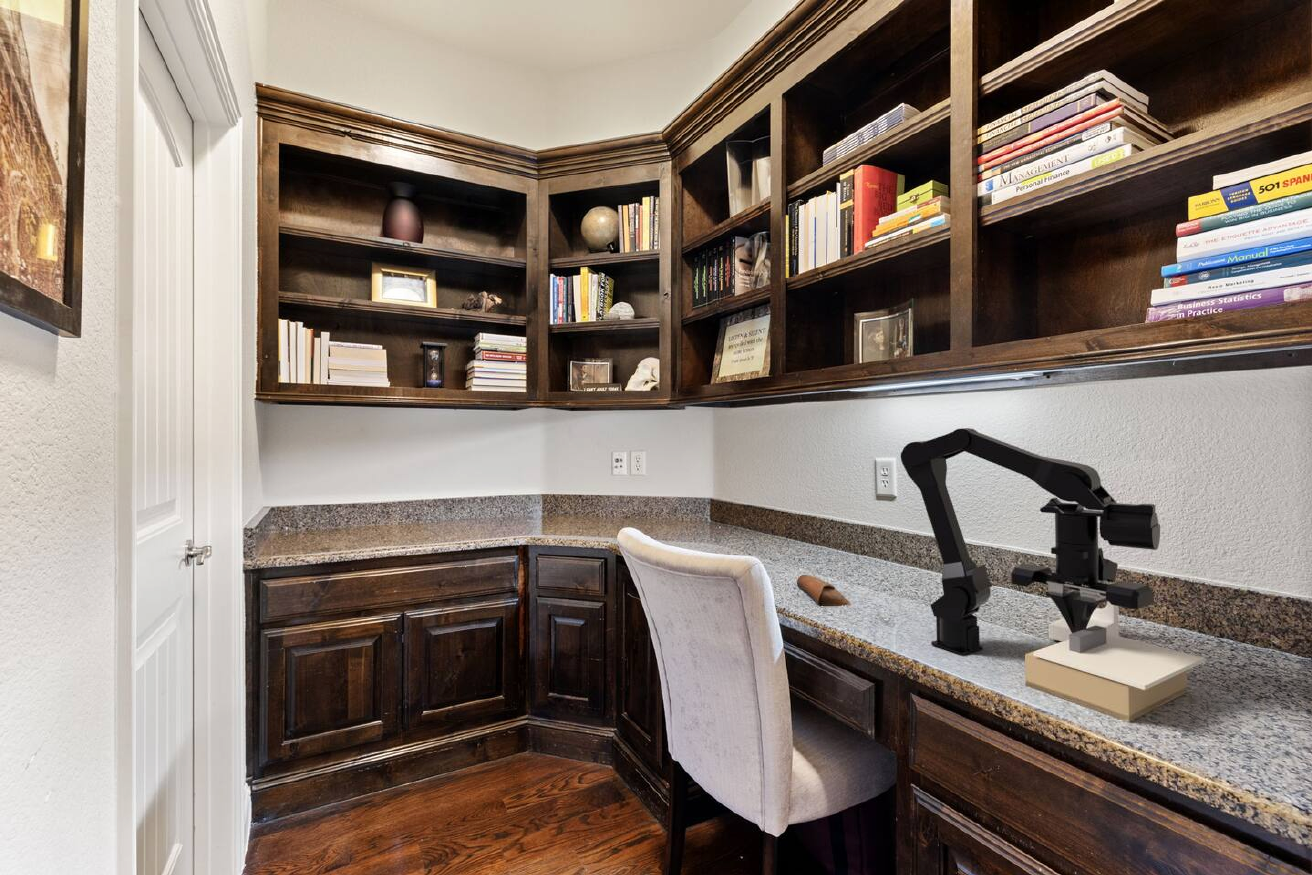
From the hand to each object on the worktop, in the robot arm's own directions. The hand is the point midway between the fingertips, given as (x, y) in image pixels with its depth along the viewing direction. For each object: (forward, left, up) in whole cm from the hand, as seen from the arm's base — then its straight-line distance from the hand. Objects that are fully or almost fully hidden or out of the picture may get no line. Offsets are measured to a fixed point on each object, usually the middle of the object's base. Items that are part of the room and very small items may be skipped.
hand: (1078, 637), depth 98 cm
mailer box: (+4, -1, -7) cm, 8 cm away
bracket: (-9, +20, -7) cm, 23 cm away
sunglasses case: (-58, 0, -7) cm, 58 cm away
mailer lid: (+6, -1, -1) cm, 6 cm away
